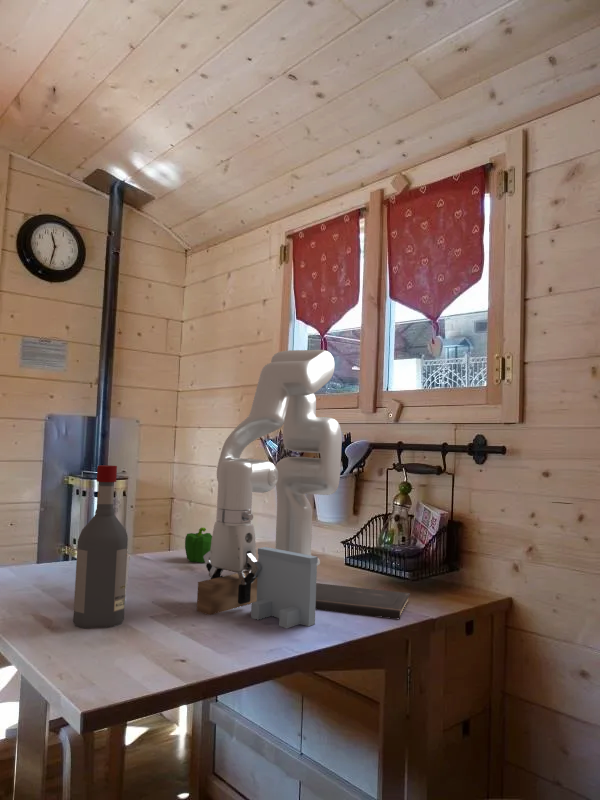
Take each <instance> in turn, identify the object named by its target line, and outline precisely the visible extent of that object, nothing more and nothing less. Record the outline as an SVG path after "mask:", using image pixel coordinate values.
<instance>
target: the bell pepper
mask: <svg viewBox="0 0 600 800" xmlns="http://www.w3.org/2000/svg"><path fill="white" fill-rule="evenodd" d="M206 531H207V529H206V527H200V528H199V529H198V532H196V533H193V532H191V533H190V532H189V533H187V534H186V536H185V539H184V550H185V554H186V558H187V560H188V562H190V563H201V564H202V563H205V561H204V558H203V557H204V555H205V554H206V553H208V552H209V551H210V550H211V541H212V533H210V532H206ZM203 532H205V533H203Z"/></svg>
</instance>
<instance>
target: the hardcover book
mask: <svg viewBox="0 0 600 800" xmlns="http://www.w3.org/2000/svg"><path fill="white" fill-rule="evenodd" d="M410 596H411V593H409V592H403V591H402V592H401V591H391V590H382V589H374V588H373V589H372V588H366V587H365V588H364V587H354V586H348V585H347V586H346V585H337V584H328V583H318V582H316V607H315V610H320V611H327V612H334V613H335V612H337V613H342V614H343V613H344V614H352V615H359V616H360V615H362V616H368V617H369V616H370V617H375V616H382V617H381V618H383V617H390V618H389V619H391V618H399V619H401V616H400V615H402V614H401V613H403V612H404V610H403V609H405V608H406V606H407V605H406V603H407V602H409V598H410ZM407 604H408V603H407ZM405 605H406V606H405ZM404 607H405V608H404ZM402 611H403V612H402ZM399 619H398V620H399Z"/></svg>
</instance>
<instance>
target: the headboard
mask: <svg viewBox="0 0 600 800" xmlns="http://www.w3.org/2000/svg"><path fill="white" fill-rule="evenodd" d="M257 557H258V558H257V561H258V563H259V564H260V565H261V566H262V569H261V571H260V572H259V574H258V577H257V602H253V603H252V604H250V605H251V607H250V608H251V610H250V618H251V619H253V620H256V619H257V621H260V620H263V619H266V618H268V617H269V618H270V617H273V616H274V617H273V618H277V619H279V620H278V621H279V622H278V623H279V624H278V627H281V628H285V629H289V628H291V627H295V626H297V625H302V626H303V625H304V626H306V627H311V626H314V625H315V624H316V609H315V607H316V583H317V576H318V574H317V571H318V569H317V568H318V565H317V563H318V559H319V557H318V556H315V555H312V554H311V555H306V554H300V553H295V552H290V551H284V550H279V549H275V548H273V547H267V546H264V547H258V548H257ZM265 617H266V618H265ZM262 618H263V619H262ZM259 619H260V620H259Z"/></svg>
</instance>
